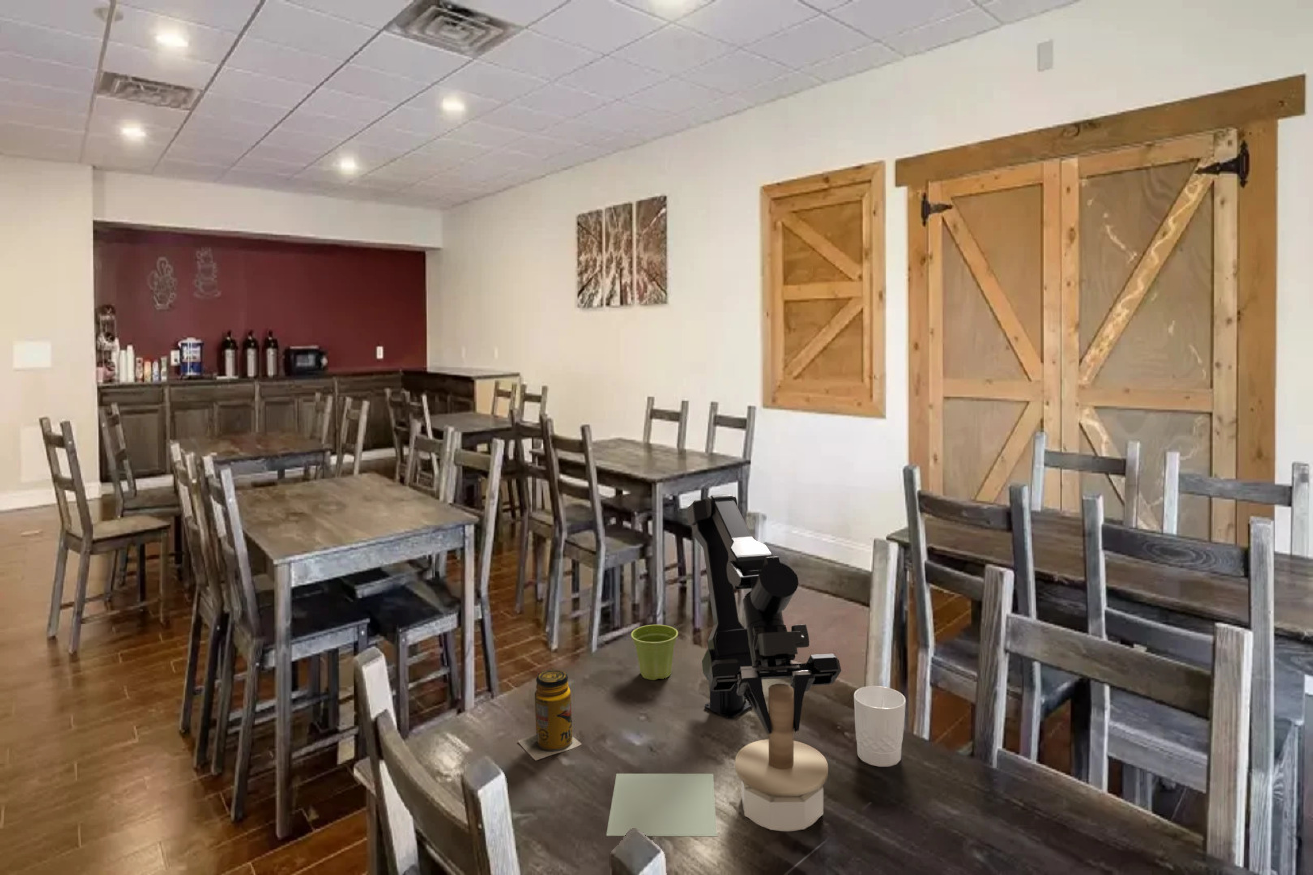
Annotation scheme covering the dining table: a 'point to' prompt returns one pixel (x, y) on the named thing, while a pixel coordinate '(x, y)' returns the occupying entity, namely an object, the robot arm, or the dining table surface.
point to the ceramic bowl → (782, 809)
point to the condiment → (551, 716)
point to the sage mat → (663, 805)
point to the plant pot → (655, 650)
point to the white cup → (879, 725)
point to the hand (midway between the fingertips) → (783, 732)
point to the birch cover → (781, 754)
